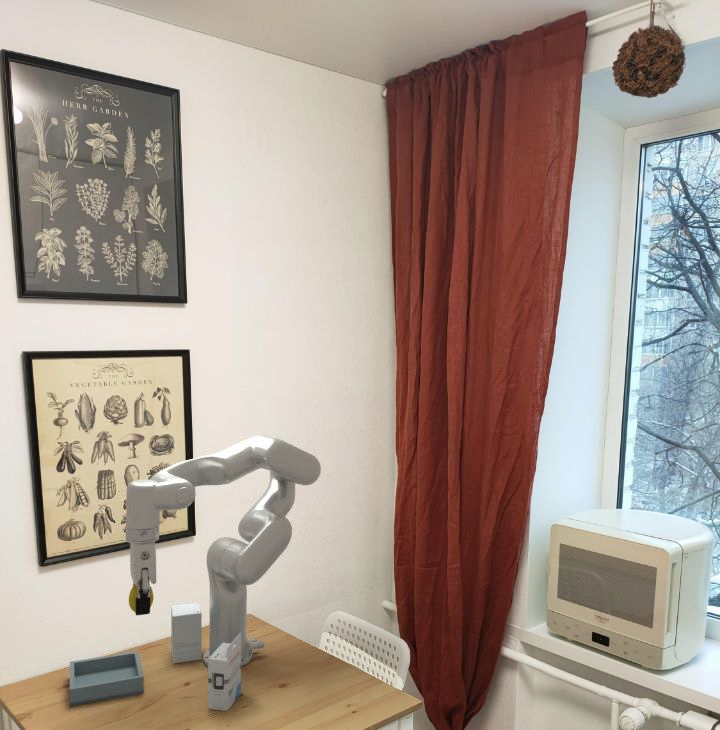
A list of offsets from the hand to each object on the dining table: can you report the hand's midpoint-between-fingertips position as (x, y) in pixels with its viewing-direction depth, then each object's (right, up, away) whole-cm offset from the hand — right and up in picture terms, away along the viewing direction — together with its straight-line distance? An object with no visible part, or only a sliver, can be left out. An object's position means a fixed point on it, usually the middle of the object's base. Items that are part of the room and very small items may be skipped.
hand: (140, 608), depth 160 cm
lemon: (0, -2, 0) cm, 2 cm away
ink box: (+20, -20, -3) cm, 29 cm away
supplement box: (+6, -19, +18) cm, 27 cm away
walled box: (-9, -19, +3) cm, 22 cm away
